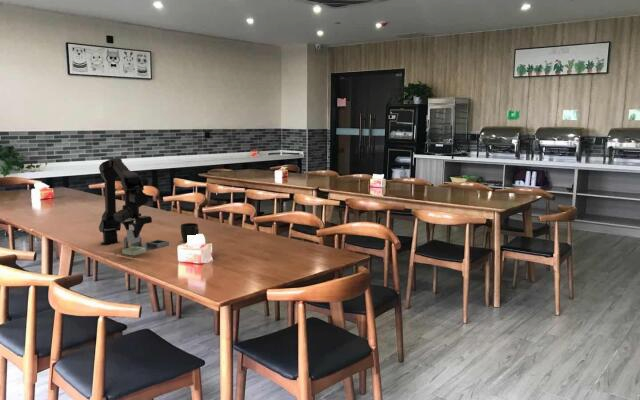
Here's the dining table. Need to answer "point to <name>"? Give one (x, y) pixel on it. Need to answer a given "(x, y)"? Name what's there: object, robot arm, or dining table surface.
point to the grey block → (132, 235)
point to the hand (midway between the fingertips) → (133, 237)
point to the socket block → (147, 244)
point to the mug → (188, 230)
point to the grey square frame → (133, 251)
